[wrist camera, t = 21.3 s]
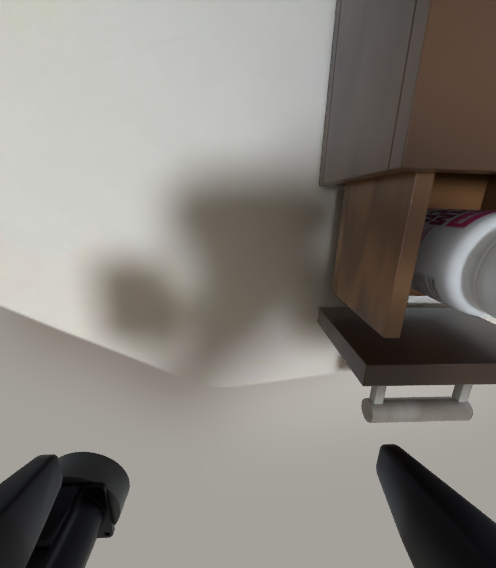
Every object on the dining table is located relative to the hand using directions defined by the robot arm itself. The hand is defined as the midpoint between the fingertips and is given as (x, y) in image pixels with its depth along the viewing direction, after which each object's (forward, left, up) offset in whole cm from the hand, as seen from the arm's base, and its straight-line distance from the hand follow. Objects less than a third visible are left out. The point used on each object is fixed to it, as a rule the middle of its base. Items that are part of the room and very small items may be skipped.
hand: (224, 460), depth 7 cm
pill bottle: (+4, -12, -11) cm, 17 cm away
